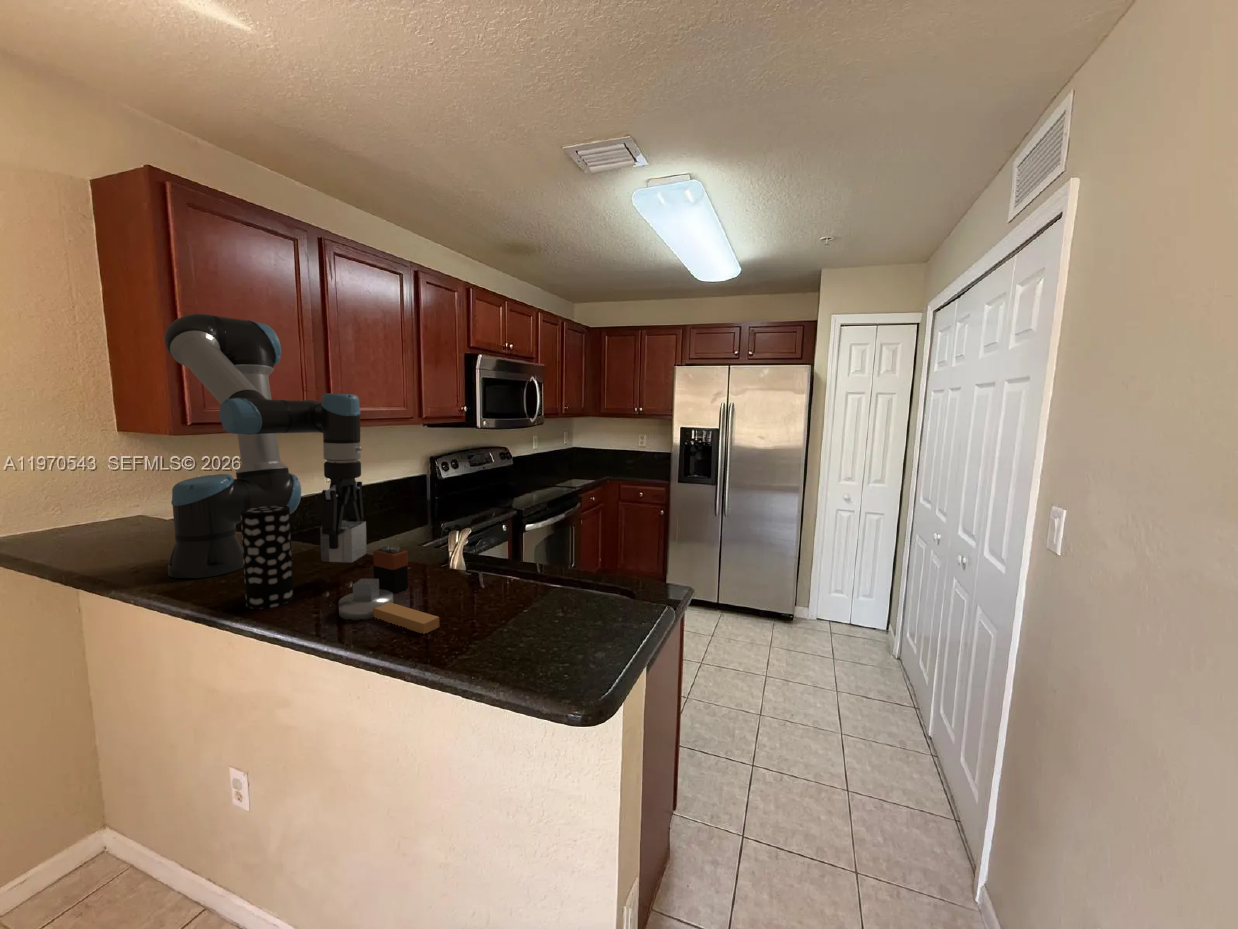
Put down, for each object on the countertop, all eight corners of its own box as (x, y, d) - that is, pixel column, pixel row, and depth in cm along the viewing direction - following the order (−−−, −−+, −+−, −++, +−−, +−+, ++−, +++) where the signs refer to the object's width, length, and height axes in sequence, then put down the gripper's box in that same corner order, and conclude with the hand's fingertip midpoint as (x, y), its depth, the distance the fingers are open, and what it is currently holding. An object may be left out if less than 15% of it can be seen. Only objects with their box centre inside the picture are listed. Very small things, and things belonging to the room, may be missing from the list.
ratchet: (328, 613, 99) (327, 584, 98) (372, 597, 108) (372, 570, 107) (409, 641, 88) (408, 609, 87) (451, 620, 97) (451, 591, 96)
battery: (392, 594, 110) (391, 551, 108) (373, 589, 113) (371, 546, 112) (409, 588, 113) (408, 546, 112) (389, 583, 117) (388, 542, 115)
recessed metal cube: (321, 561, 113) (320, 527, 112) (337, 552, 119) (336, 520, 118) (352, 562, 113) (351, 528, 112) (366, 553, 120) (365, 521, 119)
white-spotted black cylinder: (289, 591, 110) (284, 503, 108) (297, 602, 104) (293, 510, 102) (243, 600, 104) (237, 508, 102) (249, 612, 98) (243, 515, 96)
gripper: (336, 466, 104) (339, 570, 106) (378, 456, 123) (379, 544, 126) (300, 465, 103) (303, 569, 106) (347, 455, 123) (349, 543, 126)
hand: (344, 556), depth 116 cm, fingers closed on recessed metal cube, 7 cm apart
